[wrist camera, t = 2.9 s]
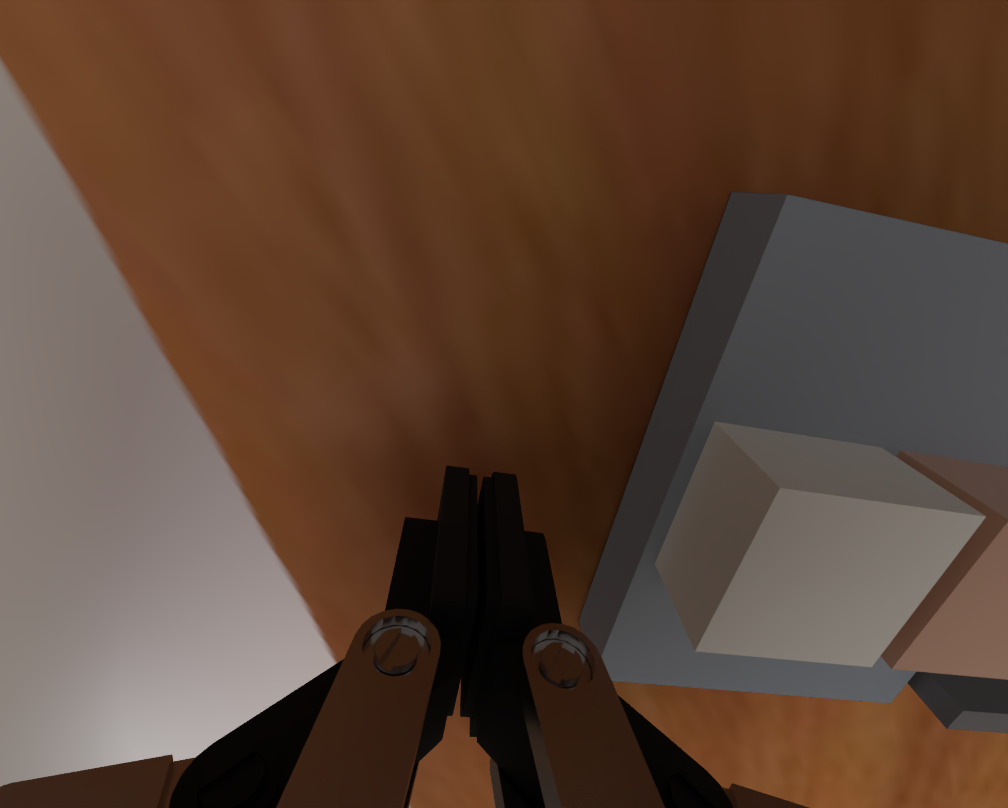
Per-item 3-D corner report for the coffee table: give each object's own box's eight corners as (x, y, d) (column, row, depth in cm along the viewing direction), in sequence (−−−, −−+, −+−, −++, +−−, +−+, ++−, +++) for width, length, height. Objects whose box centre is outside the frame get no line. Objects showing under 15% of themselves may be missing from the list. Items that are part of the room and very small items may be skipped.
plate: (731, 191, 12) (787, 194, 10) (1107, 275, 14) (1228, 293, 12) (578, 620, 19) (592, 679, 17) (845, 645, 21) (890, 703, 18)
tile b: (900, 450, 13) (1009, 520, 11) (1050, 473, 14) (1190, 545, 11) (818, 582, 15) (891, 669, 13) (952, 597, 16) (1049, 683, 13)
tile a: (714, 421, 13) (779, 487, 10) (881, 447, 13) (986, 516, 10) (654, 564, 15) (695, 651, 12) (801, 580, 15) (871, 667, 12)
